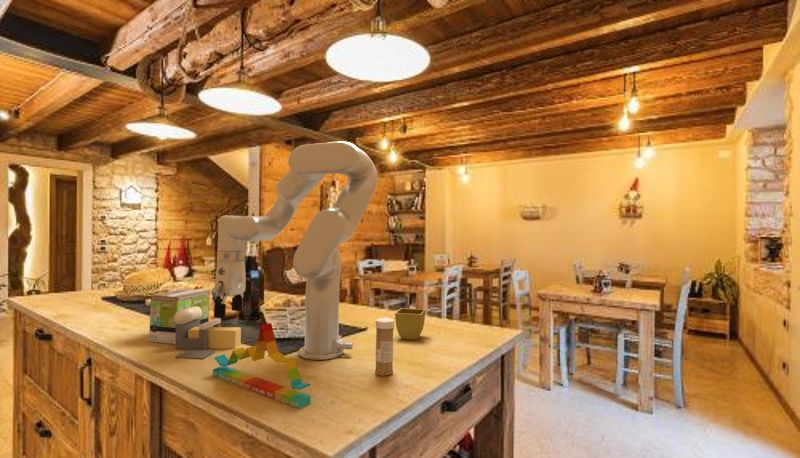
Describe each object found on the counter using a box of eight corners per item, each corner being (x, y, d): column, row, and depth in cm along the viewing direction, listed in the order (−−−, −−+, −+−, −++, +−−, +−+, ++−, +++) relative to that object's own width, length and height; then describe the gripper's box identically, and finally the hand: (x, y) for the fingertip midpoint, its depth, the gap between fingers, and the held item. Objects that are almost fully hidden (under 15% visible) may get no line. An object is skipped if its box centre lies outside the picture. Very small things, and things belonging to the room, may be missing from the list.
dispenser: (190, 340, 125) (191, 305, 125) (221, 342, 124) (221, 306, 124) (172, 348, 116) (172, 311, 116) (204, 350, 115) (205, 312, 115)
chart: (211, 377, 96) (212, 314, 96) (224, 373, 98) (224, 312, 99) (298, 410, 79) (299, 335, 79) (310, 404, 82) (311, 331, 82)
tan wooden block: (240, 345, 121) (240, 327, 121) (235, 349, 117) (235, 330, 117) (194, 344, 121) (195, 326, 121) (187, 348, 117) (188, 330, 117)
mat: (215, 352, 114) (215, 350, 114) (203, 359, 108) (203, 357, 108) (189, 351, 114) (189, 349, 114) (175, 357, 108) (175, 356, 108)
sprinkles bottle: (374, 370, 101) (375, 317, 101) (392, 369, 102) (393, 317, 102) (375, 376, 97) (376, 321, 97) (394, 376, 97) (394, 321, 97)
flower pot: (393, 340, 128) (394, 312, 128) (400, 333, 137) (400, 307, 137) (420, 342, 126) (421, 314, 126) (425, 335, 135) (425, 309, 135)
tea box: (176, 344, 121) (177, 295, 121) (148, 342, 123) (148, 294, 123) (209, 332, 135) (210, 288, 135) (184, 330, 137) (184, 287, 137)
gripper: (227, 259, 110) (224, 321, 110) (256, 255, 127) (254, 308, 127) (202, 258, 111) (199, 319, 111) (234, 254, 128) (231, 307, 128)
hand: (228, 313), depth 119 cm, fingers open, 9 cm apart
